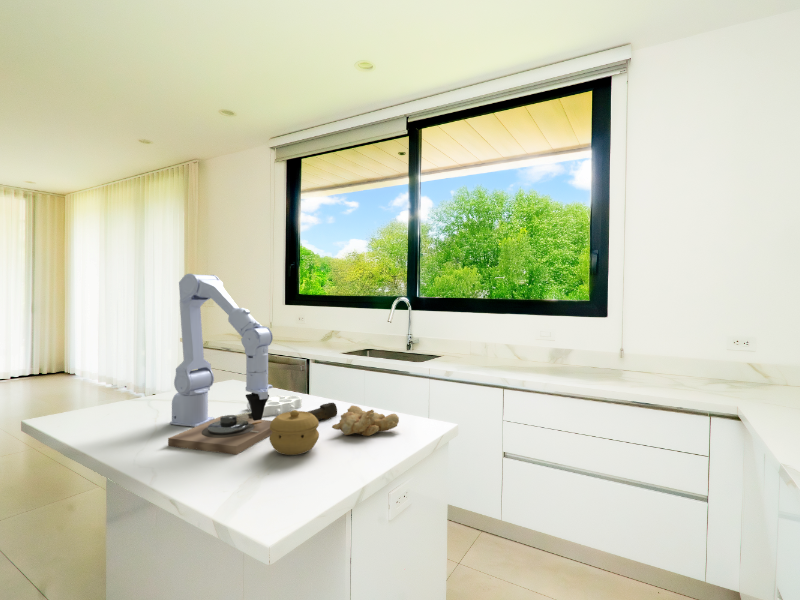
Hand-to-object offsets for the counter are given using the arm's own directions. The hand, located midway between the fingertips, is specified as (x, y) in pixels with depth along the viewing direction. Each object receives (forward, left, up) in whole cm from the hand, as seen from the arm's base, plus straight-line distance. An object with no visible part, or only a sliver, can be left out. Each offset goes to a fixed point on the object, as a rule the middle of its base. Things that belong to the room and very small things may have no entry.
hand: (257, 419), depth 116 cm
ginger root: (+28, +9, -4) cm, 29 cm away
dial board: (-5, -5, -3) cm, 8 cm away
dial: (-4, -4, -1) cm, 6 cm away
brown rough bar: (+10, +13, -4) cm, 17 cm away
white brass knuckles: (-8, +21, -4) cm, 23 cm away
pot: (+17, -9, -4) cm, 20 cm away
